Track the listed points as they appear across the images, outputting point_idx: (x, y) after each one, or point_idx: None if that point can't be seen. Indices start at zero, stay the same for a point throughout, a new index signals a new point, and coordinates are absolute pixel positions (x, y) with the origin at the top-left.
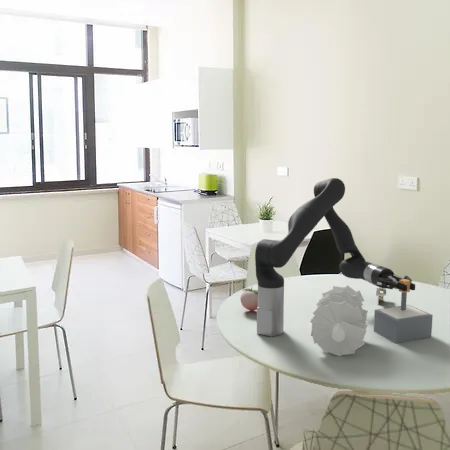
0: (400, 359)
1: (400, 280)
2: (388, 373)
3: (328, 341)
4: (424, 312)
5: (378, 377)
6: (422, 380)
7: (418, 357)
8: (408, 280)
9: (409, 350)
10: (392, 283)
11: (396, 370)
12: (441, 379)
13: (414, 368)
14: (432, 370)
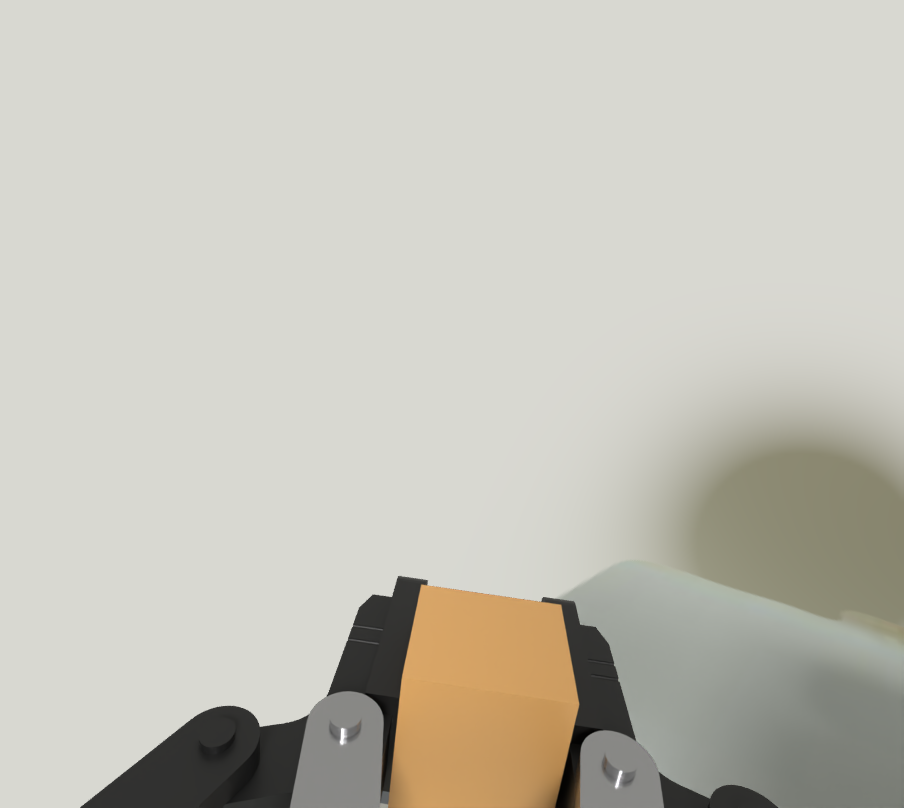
0: (697, 744)
1: (571, 677)
2: (805, 679)
3: None
4: None
5: (860, 676)
6: (681, 599)
7: None
8: (443, 602)
9: None
10: (734, 800)
11: (759, 680)
12: (611, 578)
13: (668, 657)
14: (602, 619)
